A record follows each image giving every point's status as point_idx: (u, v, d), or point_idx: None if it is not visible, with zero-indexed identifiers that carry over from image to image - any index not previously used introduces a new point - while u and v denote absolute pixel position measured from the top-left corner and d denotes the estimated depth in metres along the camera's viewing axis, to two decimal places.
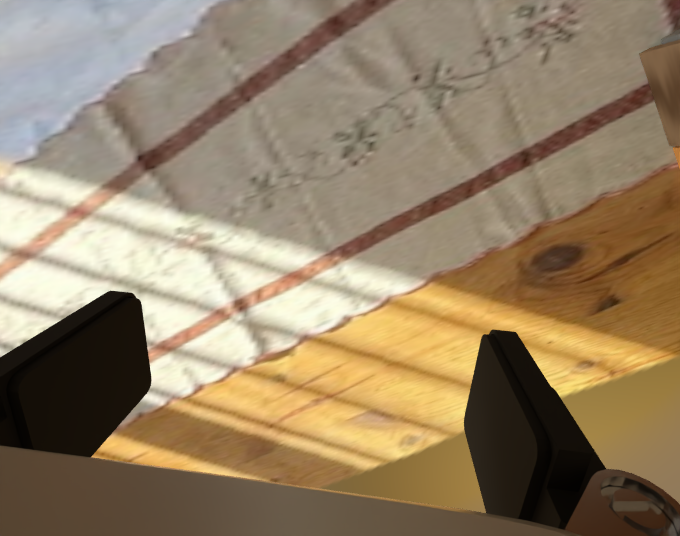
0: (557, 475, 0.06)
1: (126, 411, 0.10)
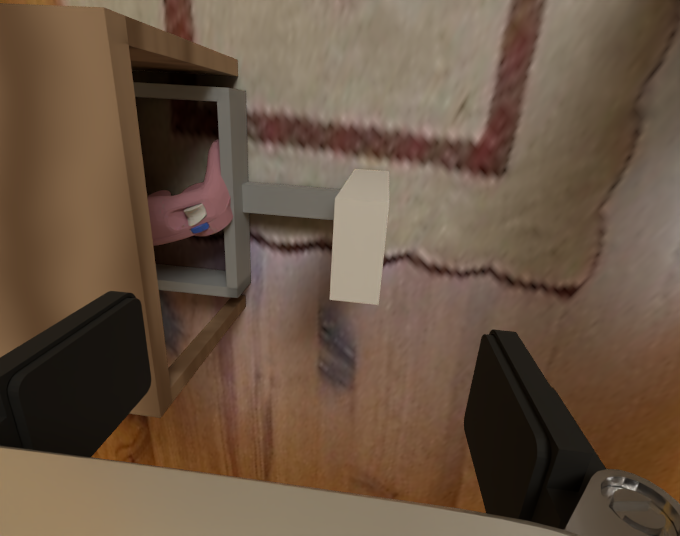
0: (557, 475, 0.06)
1: (126, 411, 0.10)
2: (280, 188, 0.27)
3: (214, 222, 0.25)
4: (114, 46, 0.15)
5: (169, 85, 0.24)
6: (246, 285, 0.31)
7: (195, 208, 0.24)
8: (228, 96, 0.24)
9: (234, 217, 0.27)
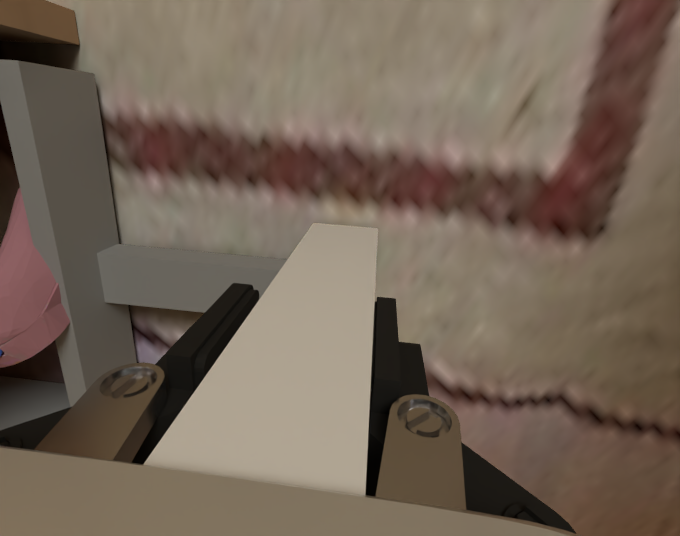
0: (378, 401, 0.08)
1: None
2: (169, 261, 0.14)
3: (15, 343, 0.12)
4: None
5: None
6: None
7: None
8: (20, 80, 0.11)
9: (73, 322, 0.13)
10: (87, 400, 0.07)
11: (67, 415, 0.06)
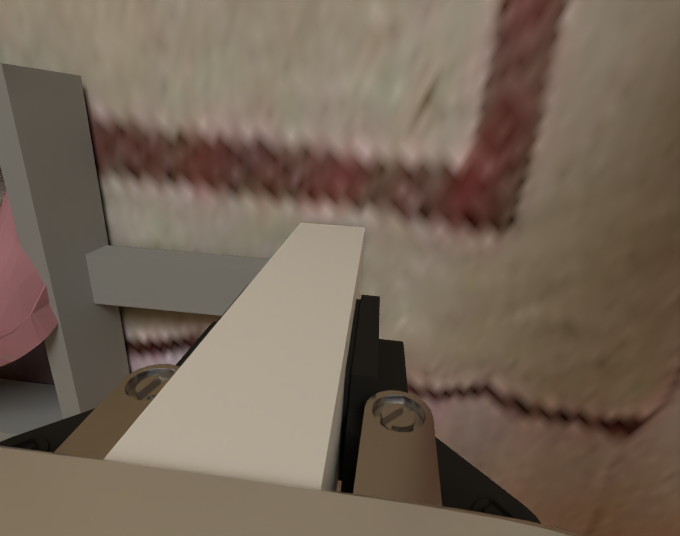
0: (356, 397, 0.08)
1: None
2: (157, 262, 0.14)
3: (2, 344, 0.12)
4: None
5: None
6: None
7: None
8: (4, 82, 0.11)
9: (61, 324, 0.14)
10: (112, 400, 0.07)
11: (92, 414, 0.06)
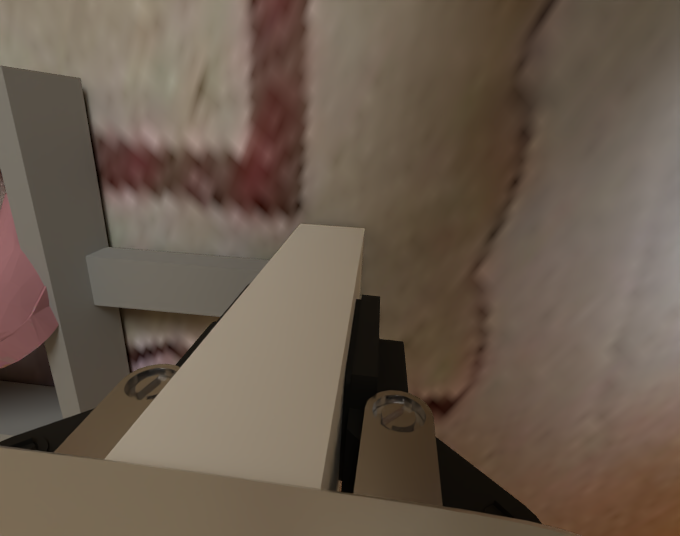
0: (356, 397, 0.08)
1: None
2: (157, 264, 0.14)
3: (2, 346, 0.12)
4: None
5: None
6: None
7: None
8: (3, 85, 0.11)
9: (61, 326, 0.14)
10: (111, 400, 0.07)
11: (91, 414, 0.06)
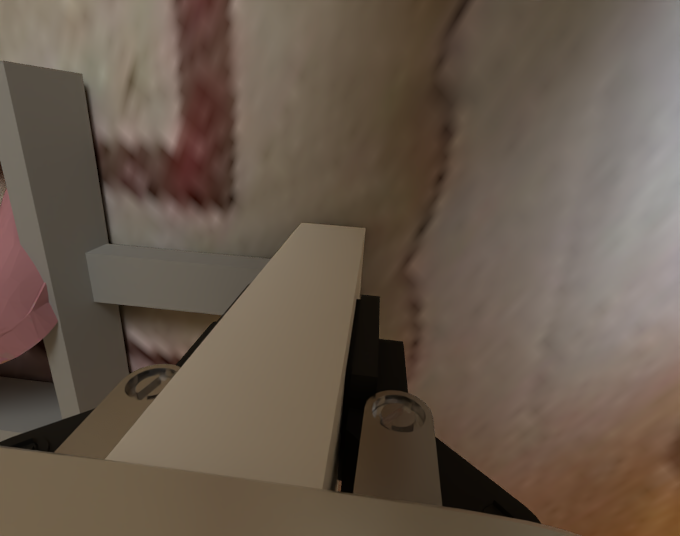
0: (356, 397, 0.08)
1: None
2: (157, 261, 0.14)
3: (1, 342, 0.12)
4: None
5: None
6: None
7: None
8: (5, 80, 0.11)
9: (60, 322, 0.14)
10: (112, 400, 0.07)
11: (92, 414, 0.06)
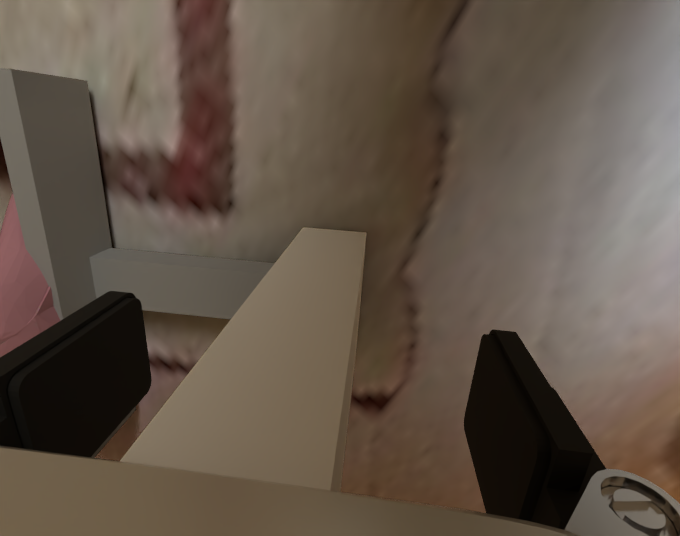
0: (557, 475, 0.06)
1: (126, 411, 0.10)
2: (160, 265, 0.14)
3: (7, 346, 0.12)
4: None
5: None
6: (121, 422, 0.17)
7: None
8: (13, 88, 0.11)
9: None
10: None
11: None
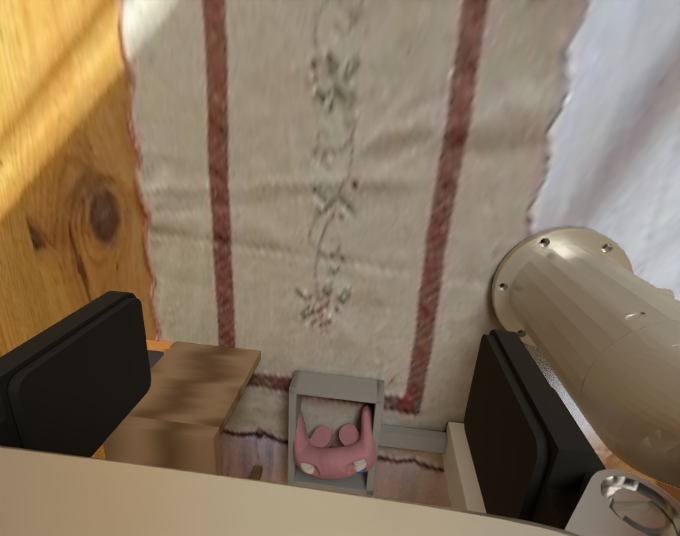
0: (557, 475, 0.06)
1: (126, 411, 0.10)
2: (403, 435, 0.44)
3: (369, 466, 0.43)
4: (215, 446, 0.33)
5: (348, 394, 0.41)
6: None
7: (362, 464, 0.42)
8: (383, 401, 0.41)
9: None
10: None
11: None
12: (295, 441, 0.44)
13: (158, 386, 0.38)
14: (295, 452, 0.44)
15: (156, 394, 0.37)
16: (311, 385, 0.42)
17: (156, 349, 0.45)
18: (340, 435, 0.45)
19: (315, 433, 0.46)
